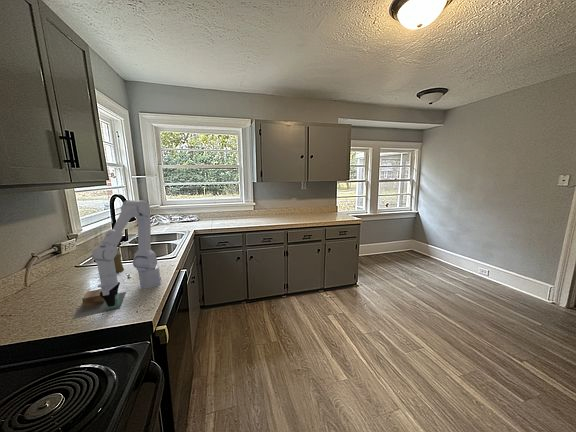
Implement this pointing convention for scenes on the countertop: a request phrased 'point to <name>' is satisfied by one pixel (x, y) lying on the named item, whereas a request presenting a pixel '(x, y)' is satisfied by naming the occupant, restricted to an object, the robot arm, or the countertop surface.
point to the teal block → (117, 302)
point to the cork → (118, 263)
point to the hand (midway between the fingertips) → (112, 302)
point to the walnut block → (92, 298)
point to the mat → (96, 308)
